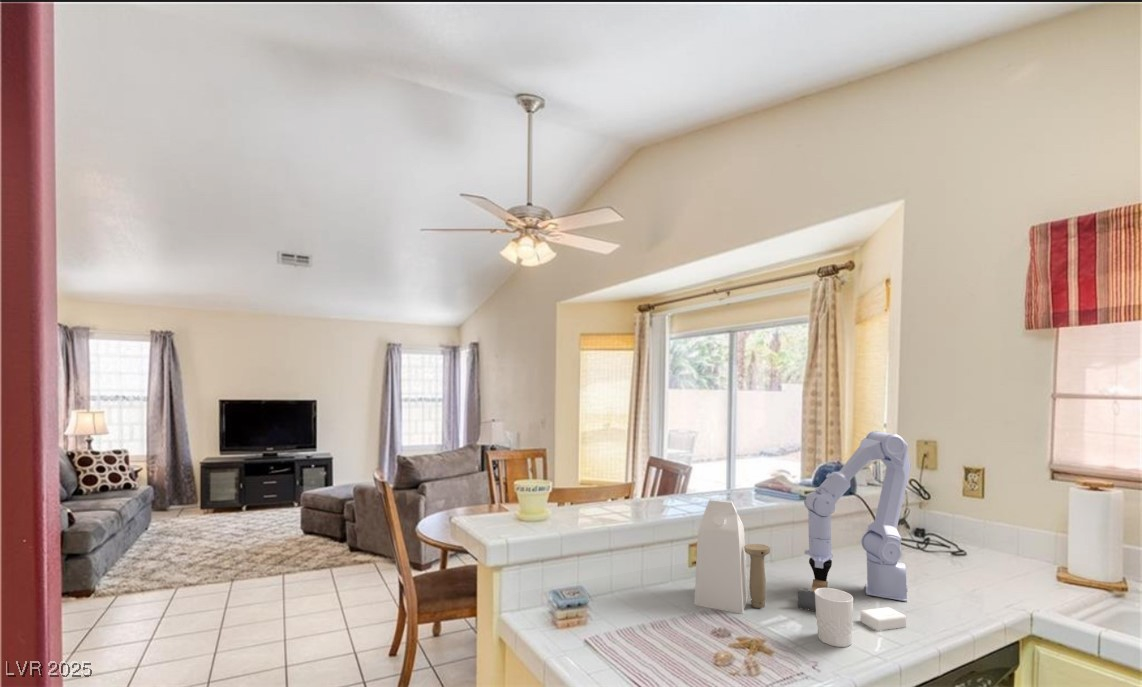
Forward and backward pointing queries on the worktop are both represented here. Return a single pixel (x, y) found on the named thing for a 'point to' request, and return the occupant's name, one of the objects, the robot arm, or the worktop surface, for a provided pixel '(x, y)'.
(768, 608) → the worktop surface
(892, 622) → the soap
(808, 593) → the bracket
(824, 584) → the tan rectangular block
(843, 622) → the white cup
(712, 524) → the milk
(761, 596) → the handle
